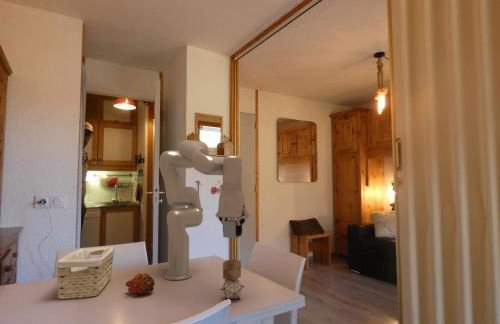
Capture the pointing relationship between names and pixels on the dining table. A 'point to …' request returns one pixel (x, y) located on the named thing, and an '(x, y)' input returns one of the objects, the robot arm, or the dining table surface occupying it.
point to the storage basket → (84, 272)
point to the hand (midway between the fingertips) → (232, 234)
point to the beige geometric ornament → (232, 288)
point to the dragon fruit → (141, 284)
